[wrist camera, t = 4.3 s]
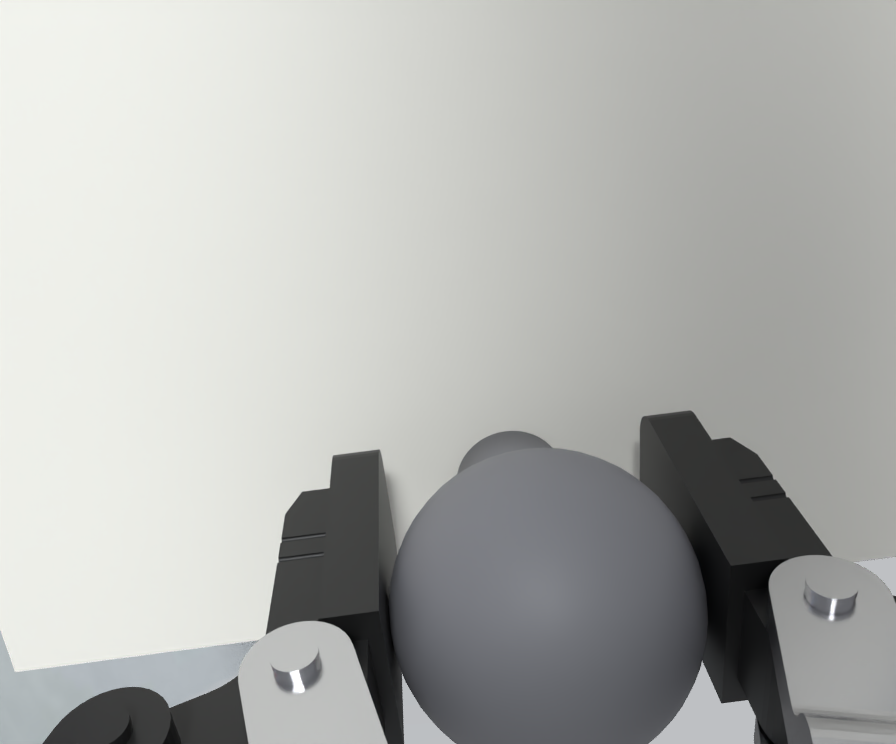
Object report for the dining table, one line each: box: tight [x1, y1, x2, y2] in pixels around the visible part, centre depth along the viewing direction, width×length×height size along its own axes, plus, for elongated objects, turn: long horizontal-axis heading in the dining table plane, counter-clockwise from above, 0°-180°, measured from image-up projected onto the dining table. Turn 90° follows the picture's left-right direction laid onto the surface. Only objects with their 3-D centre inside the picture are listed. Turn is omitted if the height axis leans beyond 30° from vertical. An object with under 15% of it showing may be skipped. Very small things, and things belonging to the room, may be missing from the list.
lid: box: [0, 0, 896, 744], centre depth 10 cm, size 19×18×6 cm
